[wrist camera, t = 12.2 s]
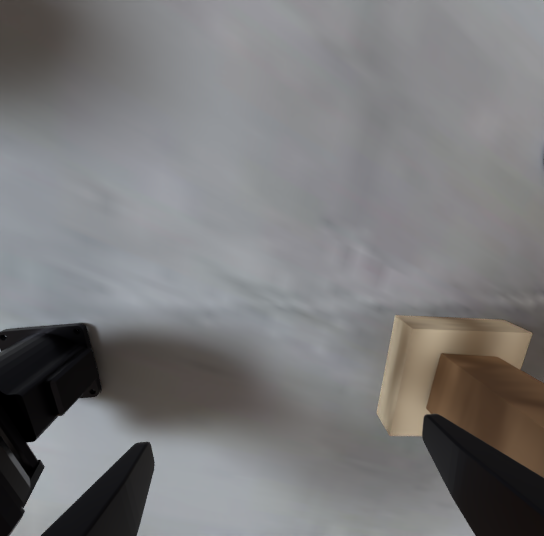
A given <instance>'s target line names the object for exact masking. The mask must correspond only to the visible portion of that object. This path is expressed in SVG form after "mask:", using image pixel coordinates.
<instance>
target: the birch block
mask: <svg viewBox="0 0 544 536" xmlns="http://www.w3.org/2000/svg"><path fill="white" fill-rule="evenodd" d="M532 334H533V333H531V332H529V331H527V330H525V329H523V328H520V327H518V326H516V325H514V324H512V323H510V322H507V321H505V320H499V319H475V318H450V317H425V316H401V315H395V319H394V324H393V330H392V335H391V340H390V345H389V351H388V356H387V361H386V366H385V371H384V377H383V382H382V387H381V392H380V398H379V403H378V408H377V415H378V417H379V418H380V420H381V422H382V423H383V425H384V427H385V429H386V430H387V432H388V434H389V435H390V436H422V429H423V419H424V416H425V415H426V414H431V413H430V412H429V411H428V410H427V409H426V406H427V402H428V399H429V395H430V391H431V388H432V384H433V380H434V377H435V373H436V369H437V366H438V362H439V358H440V355H441V353H444V354H461V355H478V356H495V357H499V358H501V359H502V360H504V361H506V362H508V363H509V364H511V365H513V366H514V367H516V368H518V369H520V370H521V367H522V364H523V361H524V358H525V355H526V352H527V349H528V346H529V343H530V340H531V337H532Z"/></svg>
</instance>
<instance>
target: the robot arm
mask: <svg viewBox="0 0 544 536" xmlns="http://www.w3.org/2000/svg"><path fill="white" fill-rule="evenodd" d="M77 329H79V330H80V332H78V331H77ZM0 349H1V352H0V536H9V535H10V534H11V533H12V531H13V530H14V528H15V527H16V526H17V524H18V523H19V521H20V520H21V518H22V516H23V514H24V512H25V511H24V509H23V508H24V506H25V504H26V502H27V500H28V499H29V497H30V495H31V493H32V491H33V489H34V487H35V485H36V483H37V481H38V479H39V477H40V475H41V473H42V471H43V469H44V467H45V466H44V465H43V463H42V462H41V460H37V458H36V457H35V455H34V454H33V452H32V451H31V449H30V448H29V446H28V445H27V443H26V442H33V441H35V440H36V439H37V438H38V437H39V436H40V435H41V434H42V433H43V432H44V431H45V430H46V429H47V428H48V427H49V426H50V424H51V423H52V422H53V421H54V420H55V419H56V418H57V417H58V416H62V415H64V414H65V412H66V411H67V410H68V409H69V408H70V407H71V406H72V405H73V404H74V403H75V402H76V401H77V400H78V398H88V397H96V396H97V395H98V394H99V393H100V392H101V390H102V388H101V384H100V380H99V374H98V370H97V366H96V362H95V358H94V354H93V351H92V348H91V344H90V341H89V337H88V333H87V329H86V327H85V326H84V325H83V324H79V323H78V324H66V325H53V326H41V327H28V328H16V329H5V330H3V331H1V332H0ZM93 389H94V390H95V391H94V390H93ZM422 437H423V441H424V443H425V445H426V447H427V449H428V451H429V453H430V455H431V457H432V459H433V461H434V463H435V465H436V467H437V469H438V471H439V473H440V475H441V477H442V479H443V481H444V482H445V484H446V486H447V488H448V490H449V492H450V494H451V496H452V498H453V499H454V501H455V503H456V504H457V506H458V508H459V509H460V511H461V513H462V514H463V516H464V518H465V519H466V521H467V522H468V524H469V526H470V527H471V529H472V531H473V532H474V534H475V535H476V536H544V478H543V477H542V476H540V475H538V474H537V473H535V472H533V471H532V470H530V469H528V468H527V467H525V466H524V465H522V464H520V463H519V462H517V461H515V460H514V459H512V458H510V457H509V456H507V455H505V454H504V453H502V452H500V451H499V450H497V449H495V448H494V447H492V446H491V445H489V444H487V443H486V442H484V441H482V440H481V439H479V438H477V437H476V436H474V435H472V434H471V433H469V432H467V431H466V430H464V429H462V428H461V427H459V426H458V425H456V424H454V423H453V422H451V421H449V420H448V419H446V418H444V417H443V416H441V415H439V414H426V415H425V416H424V419H423V429H422ZM153 471H154V457H153V453H152V448H151V444H150V443H149V442H140V443H136V444H134V445H133V446H132V447H131V448H130V449H129V450H128V451H127V452H126V453H125V454H124V455H123V456H122V457H121V458H120V459H119V460H118V461H117V462H116V463H115V464H114V465H113V466H112V467H111V468H110V469H109V470H108V471H107V472H106V473H104V474H103V475H102V476H101V477H100V478H99V479H98V480H97V481H96V482H95V483H94V484H93V485H92V486H91V487H90V488H89V489H88V490H87V491H86V492H85V493H84V494H83V495H82V496H81V497H80V498H79V499H78V500H77V501H76V502H75V503H74V504H73V505H72V506H71V507H70V508H69V509H68V510H67V511H66V512H64V513H63V514H62V515H61V516H60V517H59V518H58V519H57V520H56V521H55V522H54V523H53V524H52V525H51V526H50V527H49V528H48V529H47V530H46V531H45V532H44V533H43V534H42V535H41V536H137V533H138V529H139V526H140V522H141V518H142V514H143V510H144V506H145V503H146V499H147V495H148V491H149V487H150V483H151V479H152V475H153Z"/></svg>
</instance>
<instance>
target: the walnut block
mask: <svg viewBox="0 0 544 536" xmlns="http://www.w3.org/2000/svg"><path fill="white" fill-rule="evenodd" d="M426 409H427V410H428V411H429V412H430V413H431V414H439V415H441V416H443V417H444V418H446V419H448V420H449V421H451V422H453V423H454V424H456V425H458V426H459V427H461V428H462V429H464V430H466V431H467V432H469V433H471V434H472V435H474V436H476V437H477V438H479V439H481V440H482V441H484V442H486V443H487V444H489V445H491V446H492V447H494V448H495V449H497V450H499V451H500V452H502V453H504V454H505V455H507V456H509V457H510V458H512V459H514V460H515V461H517V462H519V463H520V464H522V465H524V466H525V467H527V468H528V469H530V470H532V471H533V472H535V473H537V474H538V475H540V476H542V477H543V478H544V383H542V382H540V381H539V380H537V379H535V378H534V377H532V376H530V375H528V374H527V373H525V372H523V371H521V370H520V369H518V368H516V367H514V366H513V365H511V364H509V363H508V362H506V361H504V360H502V359H501V358H499V357H495V356H478V355H461V354H444V353H441V355H440V358H439V362H438V366H437V369H436V373H435V377H434V380H433V384H432V388H431V391H430V395H429V399H428V402H427V406H426Z"/></svg>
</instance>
